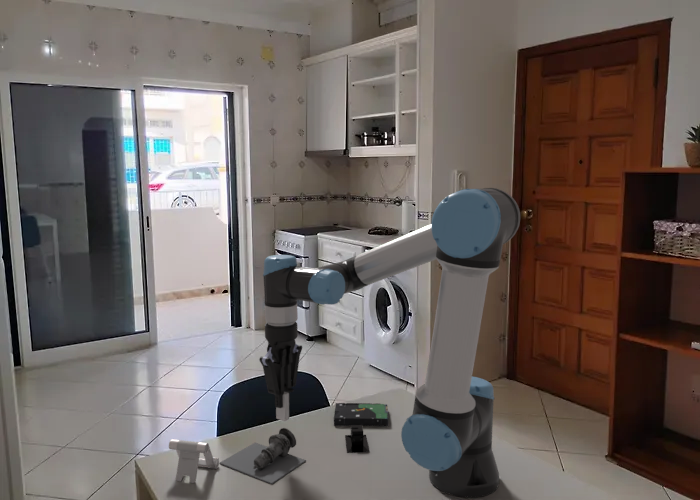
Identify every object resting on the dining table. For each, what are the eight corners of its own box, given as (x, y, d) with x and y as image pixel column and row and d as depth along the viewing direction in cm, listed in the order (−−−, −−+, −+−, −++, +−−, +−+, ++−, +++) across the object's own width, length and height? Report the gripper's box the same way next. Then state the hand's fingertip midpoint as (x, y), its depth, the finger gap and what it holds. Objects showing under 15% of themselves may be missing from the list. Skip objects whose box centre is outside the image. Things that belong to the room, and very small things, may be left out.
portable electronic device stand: (219, 466, 132) (217, 432, 131) (203, 484, 125) (201, 448, 123) (185, 462, 134) (183, 428, 133) (167, 479, 126) (165, 444, 125)
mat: (305, 461, 134) (305, 460, 134) (271, 484, 124) (271, 483, 124) (255, 443, 143) (255, 442, 143) (219, 463, 133) (219, 462, 133)
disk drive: (333, 428, 153) (389, 428, 153) (333, 418, 153) (389, 418, 152) (335, 411, 163) (387, 411, 163) (335, 402, 163) (387, 402, 163)
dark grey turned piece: (287, 423, 136) (252, 454, 127) (301, 444, 135) (267, 476, 126) (274, 431, 140) (240, 460, 130) (288, 451, 139) (254, 482, 130)
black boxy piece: (341, 434, 149) (341, 418, 149) (369, 433, 150) (369, 417, 149) (344, 458, 137) (344, 440, 136) (374, 457, 137) (374, 439, 137)
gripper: (286, 313, 140) (288, 405, 143) (249, 325, 129) (251, 425, 132) (311, 318, 136) (312, 412, 139) (274, 330, 125) (276, 433, 128)
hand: (282, 418), depth 135 cm, fingers closed
